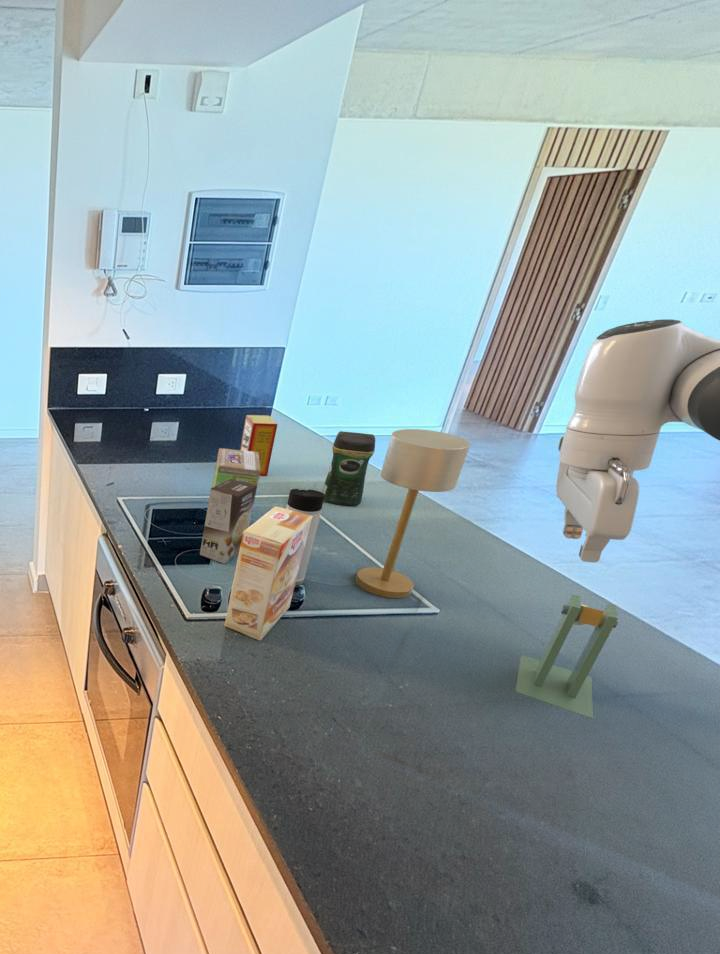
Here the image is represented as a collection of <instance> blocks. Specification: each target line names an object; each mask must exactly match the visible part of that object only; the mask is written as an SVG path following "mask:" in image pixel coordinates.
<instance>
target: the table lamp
mask: <svg viewBox="0 0 720 954" xmlns="http://www.w3.org/2000/svg"><path fill="white" fill-rule="evenodd" d="M470 446H471V443H470V441H468V440H467V439H465V438H464V437H461V436H457V435H454V434H451V433H447V432H442V431H437V430H430V429H418V428H406V429H405V428H404V429H398V430H394V431H393V432H392V433H391V437H390V440H389V444H388V447H387V450H386V454H385V457H384V460H383V464H382V467H381V470H380V475H379V476H380V477H381V478H382V479H383V480H384V481H385V482H388V483H390V484H392V485H394V486H398V487H401V488H404V489H408V491H407V494H406V496H405V499H404V503H403V506H402V509H401V513H400V515H399V518H398V521H397V525H396V527H395V528H396V529H395V531H394V534H393V537H392V540H391V544H390V547H389V550H388V553H387V556H386V560H385V563H384V566H383V567H376V566H374V567H373V566H369V567H363V568H360V569H359V570H358V571H357V572H356V576H355V583H356V584H357V585H358V587H360V588H361V589H362V590H364V591H366V592H368V593H370V594H372V595H375V596H378V597H381V598H382V597H383V598H387V599H405V598H407V597H409V596H411V595H412V593H413V590H414V587H415V585H414V582H413V581H412V580H411V579H410V578H409V577H407V576H406V575H404V574H402V573H400V572H398V571H395V570H394V568H395V565H396V562H397V559H398V555H399V553H400V550H401V547H402V543H403V540H404V537H405V534H406V532H407V528H408V525H409V522H410V519H411V516H412V513H413V509H414V507H415V504H416V499H417V498H418V494H419V492H429V493H444V492H451V491H452V490H455V488H456V486H457V484H458V481H459V479H460V475H461V472H462V469H463V467H464V464H465V461H466V458H467V455H468V452H469V450H470Z"/></svg>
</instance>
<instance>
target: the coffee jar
mask: <svg viewBox="0 0 720 954" xmlns="http://www.w3.org/2000/svg"><path fill="white" fill-rule="evenodd" d="M331 447H332V450H331V451H332V458H331V463H330V466H329V469H328V473H327V475H326V478H325V481H324V483H323V487H322V491H321V492H322V493H324V494H325V497H324V502H327V503H330V504H336V505H342V506H358V505H360V504H361V503H362V499H363V495H364V489H365V488H364V487H365V480H366V474H367V470H368V466H369V462H370V459H371V458H372V457H373V455H374V453H375V451H376V450H375V449H376V436H375V435H374V434H373V433H372V434H371V433H362V432H354V431H343V430H340V431H338V432H337V434H336V437H335V439H334V442H333V444H332V446H331Z"/></svg>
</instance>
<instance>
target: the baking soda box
mask: <svg viewBox="0 0 720 954" xmlns="http://www.w3.org/2000/svg"><path fill="white" fill-rule="evenodd" d="M277 429H278V423H277V422H276V421H275V420H274V419H273V418H272V417H271V416H270V415H269V414H267V415H266V414H265V415H264V414H246V416H245V419H244V425H243V431H242V437H241V443H240V449H239V450H242V451H252V452H258V453H259V461H260V477H268V473H269V467H270V465H271V464H270V463H271V458H272V453H273V449H274V443H275V438H276V433H277Z"/></svg>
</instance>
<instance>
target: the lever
mask: <svg viewBox="0 0 720 954" xmlns="http://www.w3.org/2000/svg"><path fill="white" fill-rule="evenodd" d="M603 613H604V610H601V609H597V608H593V607H590V606H589V605H587V604H585V603H582V602H581V609H580V611H579V613H578V615H577V617H576V619H575V621H574V623H573V625H574V626H583V625H589V626H591V627H598V625H599V623H600V620H601V618H602V615H603ZM573 625H572V626H573Z"/></svg>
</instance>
